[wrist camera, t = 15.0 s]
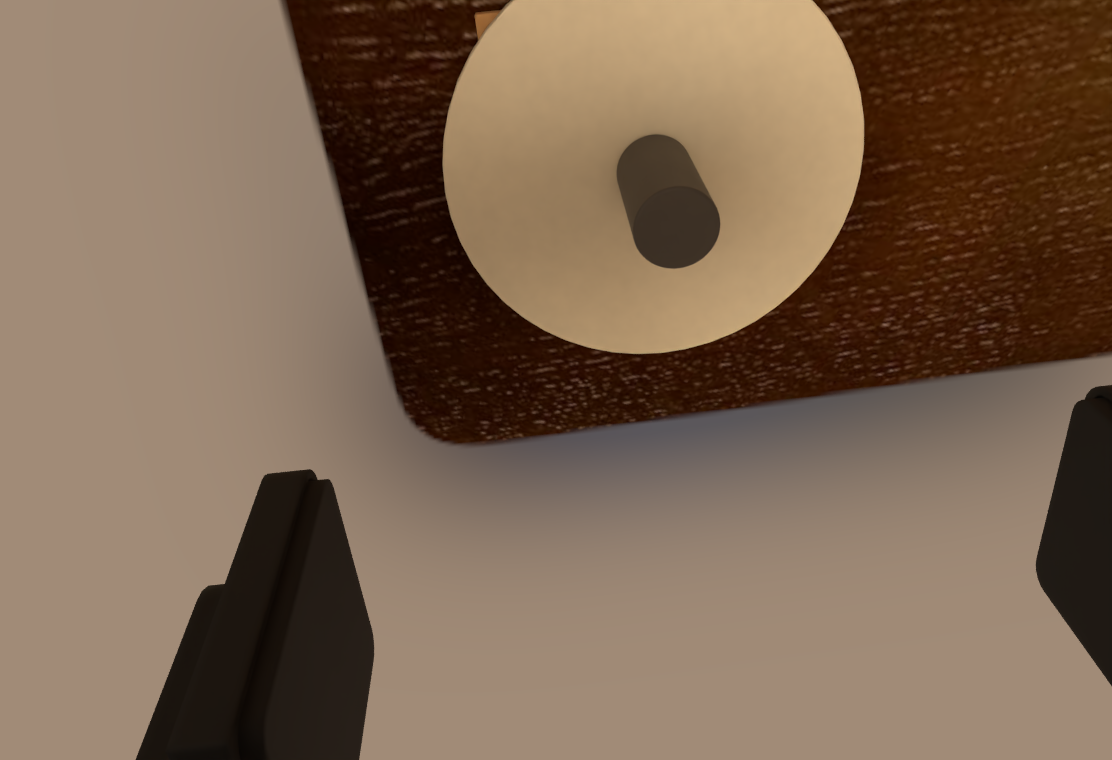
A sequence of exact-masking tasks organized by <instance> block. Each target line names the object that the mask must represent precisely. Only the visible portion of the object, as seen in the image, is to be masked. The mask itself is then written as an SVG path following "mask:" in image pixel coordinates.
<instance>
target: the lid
mask: <svg viewBox="0 0 1112 760" xmlns="http://www.w3.org/2000/svg"><path fill="white" fill-rule="evenodd" d="M863 150H864V116H863V108H862V101H861V93H860V90H859V86H858V82H857V79H856V75H855V71H854V68H853V65H852V63H851V60H850V58H849V56H848V54H847V51H846V49H845V47H844V44H843V42H842V40H841V39H840V37H839V35H838V34H837V32H836V31H835V29H834V27H833V26H832V24H831V23H830V21H829V19H828V18H827V17H826V15H825V14H824V13H823V12H822V11H821V10H820V8H819V7H818V6H817V5H816V4H815V3H814V1H813V0H511V1H510V2H509V3H507V4H506V5H505V7H504V8H503V9H502V10H501V11H500V12H499V14H498V15H497V16H496V17H495V18H494V20H493V21H492V22H491V23H490V24H489V25H488V27H487V28H486V29H485V31H484V32H483V34H482V35H481V37H480V39H479V40H478V42H477V43H476V45H475V46H474V48H473V49H472V51H471V53H470V55H469V57H468V59H467V61H466V63H465V65H464V67H463V69H462V72H461V74H460V76H459V78H458V81H457V84H456V87H455V90H454V93H453V96H452V100H451V103H450V106H449V110H448V115H447V121H446V127H445V133H444V139H443V165H442V166H443V176H444V186H445V194H446V198H447V203H448V207H449V211H450V215H451V219H452V222H453V224H454V227H455V229H456V232H457V235H458V237H459V240H460V242H461V244H462V246H463V248H464V250H465V252H466V253H467V255H468V257H469V259H470V261H471V263H472V264H473V266H474V267H475V268H476V270H477V271H478V273H479V274H480V275H481V277H482V278H483V279H484V281H485V282H486V284H487V285H488V286H489V287H490V288H491V289H492V290H493V291H494V292H495V293H496V294H497V295H498V296H499V297H500V298H501V299H502V300H503V302H505V303H506V304H507V305H508V306H510V307H511V308H512V309H513V310H514V311H516V312H517V313H518V314H519V315H521V316H522V317H523V318H525V319H526V320H528V321H530V322H531V323H533V324H534V325H536V326H538V327H539V328H541V329H543V330H544V331H546V332H549V333H551V334H553V335H555V336H557V337H560V338H562V339H564V340H566V341H569V342H573V343H576V344H579V345H582V346H585V347H588V348H593V349H598V350H604V351H609V352H617V353H631V354H647V353H664V352H670V351H676V350H683V349H688V348H691V347H695V346H699V345H702V344H706V343H709V342H712V341H715V340H717V339H720V338H722V337H725V336H727V335H730V334H732V333H734V332H736V331H738V330H740V329H742V328H744V327H745V326H747V325H749V324H751V323H753V322H755V321H756V320H758V319H759V318H761V317H762V316H764V315H765V314H767V313H768V312H770V311H771V310H772V309H774V308H775V307H777V306H778V305H779V304H780V303H781V302H783V301H784V300H785V299H786V298H787V297H788V296H790V295H791V294H792V293H793V292H794V291H795V290H796V289H797V288H798V287H799V286H800V285H801V284H802V283H803V282H804V281H805V280H806V279H807V277H808V276H809V275H810V274H811V273H812V272H813V271H814V270H815V268H816V267H817V266H818V264H819V263H820V262H821V260H822V259H823V257H824V256H825V255H826V253H827V252H828V251H829V249H830V247H831V246H832V244H833V242H834V240H835V238H836V237H837V235H838V233H839V231H840V230H841V228H842V226H843V224H844V221H845V219H846V216H847V214H848V212H849V209H850V207H851V204H852V202H853V199H854V195H855V191H856V188H857V184H858V180H859V177H860V171H861V164H862V157H863Z"/></svg>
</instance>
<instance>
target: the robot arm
mask: <svg viewBox="0 0 1112 760" xmlns="http://www.w3.org/2000/svg"><path fill="white" fill-rule="evenodd" d="M1036 572H1037V576H1038V580H1039V582H1040V585H1041V587H1042V588H1043V590H1044V592H1045V593H1046V595H1047V596H1048V597H1049V599H1050V600H1051V602H1052V603H1053V604H1054V606H1055V607H1056V609H1057V610H1058V611H1059V613H1060V614H1061V616H1062V617H1063V618H1064V620H1065V621H1066V623H1067V624H1068V625H1069V627H1070V628H1071V630H1072V631H1073V632H1074V634H1075V635H1076V637H1077V638H1078V639H1079V641H1080V642H1081V644H1082V645H1083V646H1084V648H1085V649H1086V651H1087V652H1088V653H1089V655H1090V656H1091V658H1092V659H1093V660H1094V662H1095V663H1096V665H1097V666H1098V667H1099V669H1100V670H1101V671H1102V673H1103V674H1104V676H1105V677H1106V679H1107V680H1108V681H1109V683H1110V684H1111V686H1112V385H1108V386H1099V387H1095V388H1093V389H1091V390H1090V391H1089V393H1088V394H1087V395H1086V398H1085V400H1081V401H1078V402H1077V403H1076V405H1075V406H1074V408H1073V411H1072V415H1071V419H1070V423H1069V428H1068V431H1067V436H1066V440H1065V444H1064V448H1063V452H1062V456H1061V460H1060V465H1059V469H1058V473H1057V477H1056V481H1055V485H1054V489H1053V493H1052V498H1051V501H1050V505H1049V510H1048V514H1047V518H1046V522H1045V526H1044V530H1043V534H1042V539H1041V542H1040V546H1039V551H1038V555H1037V560H1036ZM373 660H374V640H373V633H372V628H371V625H370V621H369V617H368V613H367V610H366V606H365V602H364V598H363V595H362V591H361V587H360V584H359V580H358V577H357V573H356V569H355V565H354V562H353V558H352V554H351V550H350V547H349V543H348V539H347V536H346V532H345V528H344V524H343V521H342V517H341V514H340V510H339V506H338V503H337V499H336V495H335V491H334V488H333V485H332V483H331V481H330V480H329V479H324V480H317V477H316V475H315V473H314V472H313V471H312V470H310V469H309V470H300V471H290V472H281V473H272V474H267V475H265V476H264V478H263V479H262V481H261V484H260V487H259V490H258V492H257V496H256V498H255V501H254V504H253V506H252V509H251V512H250V515H249V518H248V521H247V523H246V526H245V529H244V532H243V534H242V537H241V540H240V543H239V546H238V548H237V551H236V554H235V557H234V560H233V562H232V565H231V568H230V571H229V574H228V576H227V580H226V582H225V584H221V585H211V586H208V587H206V588H205V589H204V590H203V591H202V592H201V594H200V596H199V598H198V600H197V602H196V604H195V607H194V610H193V612H192V615H191V618H190V620H189V623H188V625H187V628H186V630H185V633H184V636H183V638H182V641H181V644H180V646H179V649H178V652H177V654H176V656H175V659H174V662H173V664H172V667H171V669H170V672H169V675H168V677H167V680H166V682H165V685H164V688H163V690H162V693H161V695H160V698H159V701H158V703H157V706H156V708H155V711H154V713H153V716H152V719H151V721H150V724H149V726H148V729H147V732H146V734H145V737H144V739H143V742H142V745H141V747H140V750H139V753H138V755H137V758H136V760H359V756H360V749H361V743H362V736H363V729H364V722H365V715H366V708H367V702H368V694H369V688H370V681H371V674H372V667H373Z"/></svg>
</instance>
